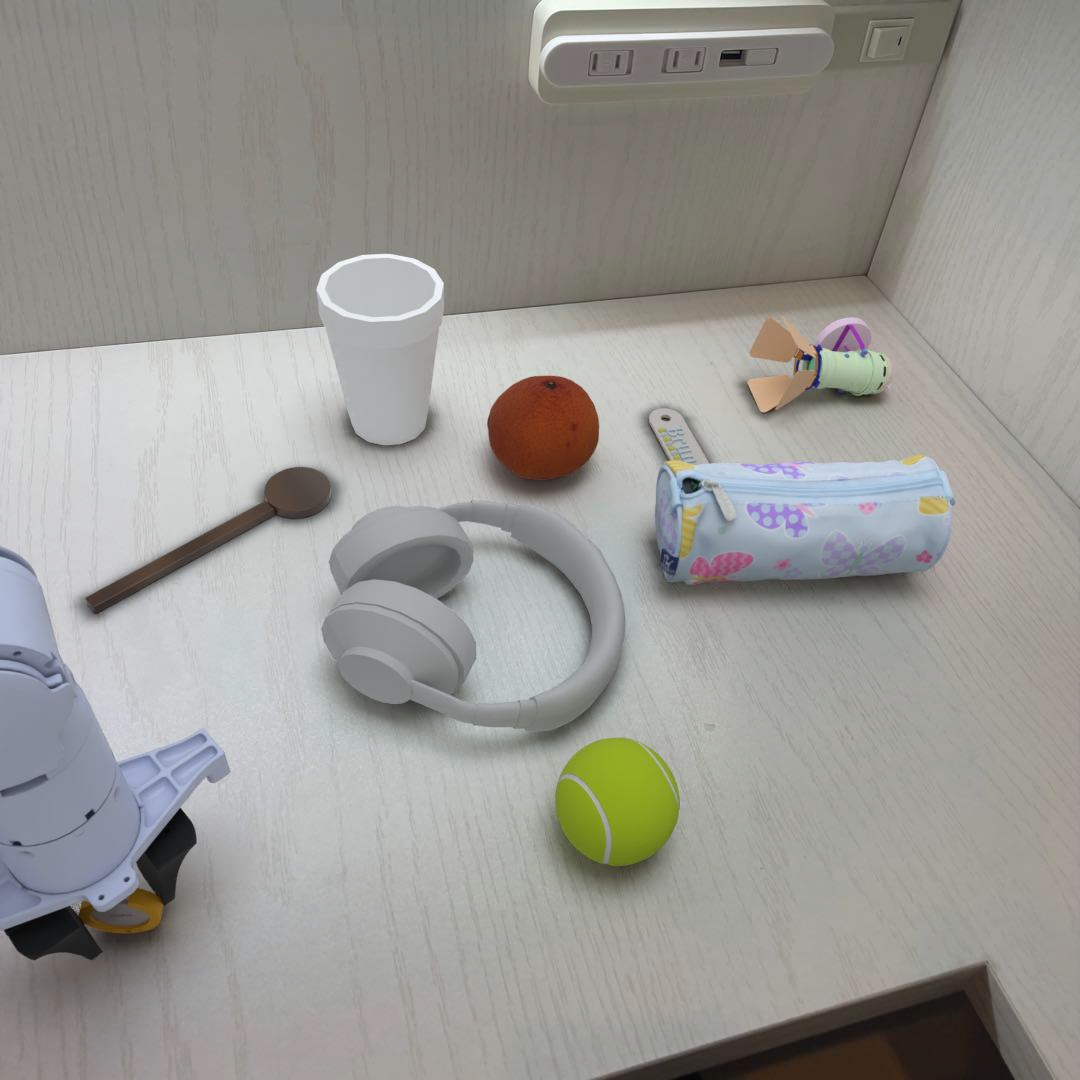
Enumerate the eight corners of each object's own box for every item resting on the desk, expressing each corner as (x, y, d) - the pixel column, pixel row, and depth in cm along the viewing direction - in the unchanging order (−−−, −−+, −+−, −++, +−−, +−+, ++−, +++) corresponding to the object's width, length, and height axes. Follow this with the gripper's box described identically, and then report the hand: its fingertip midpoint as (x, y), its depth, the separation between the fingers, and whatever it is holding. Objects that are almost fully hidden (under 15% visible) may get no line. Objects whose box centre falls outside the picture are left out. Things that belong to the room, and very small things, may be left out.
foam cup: (309, 420, 82) (290, 284, 72) (390, 373, 87) (382, 241, 77) (388, 473, 78) (378, 337, 68) (467, 421, 83) (469, 288, 73)
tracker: (90, 935, 52) (69, 904, 49) (94, 919, 52) (73, 888, 49) (167, 931, 52) (151, 901, 49) (170, 916, 52) (154, 885, 50)
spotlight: (766, 425, 85) (803, 358, 80) (737, 362, 90) (771, 296, 85) (882, 433, 89) (926, 369, 83) (848, 372, 94) (887, 309, 88)
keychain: (644, 407, 84) (676, 403, 85) (643, 413, 85) (675, 409, 85) (688, 489, 78) (723, 483, 78) (687, 494, 78) (722, 489, 79)
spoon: (109, 630, 65) (106, 622, 65) (73, 588, 68) (70, 581, 67) (344, 497, 76) (343, 490, 75) (306, 465, 78) (304, 457, 77)
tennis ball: (623, 759, 61) (638, 695, 56) (692, 849, 57) (715, 789, 52) (529, 810, 58) (536, 748, 53) (595, 909, 54) (609, 852, 49)
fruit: (568, 418, 84) (577, 341, 78) (609, 486, 78) (621, 408, 73) (471, 437, 81) (472, 358, 76) (506, 508, 76) (510, 429, 70)
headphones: (309, 750, 59) (624, 765, 63) (314, 675, 54) (659, 696, 57) (333, 533, 72) (594, 556, 76) (339, 454, 66) (620, 484, 70)
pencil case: (653, 605, 70) (675, 512, 63) (636, 520, 76) (654, 426, 69) (931, 600, 72) (981, 509, 65) (893, 517, 78) (935, 425, 71)
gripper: (-96, 976, 36) (23, 1082, 45) (245, 743, 43) (284, 877, 53) (-168, 844, 39) (-42, 970, 49) (161, 649, 46) (213, 792, 56)
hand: (124, 915), depth 51 cm, fingers closed on tracker, 3 cm apart
